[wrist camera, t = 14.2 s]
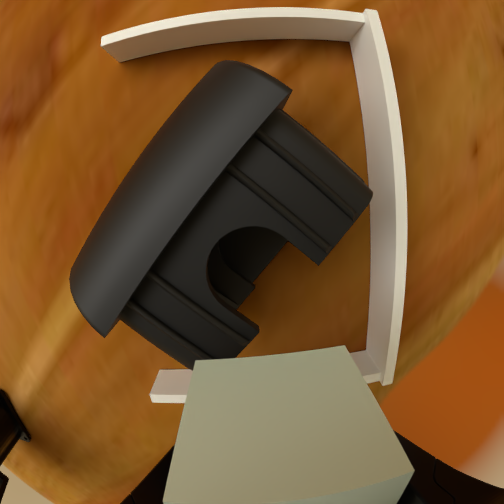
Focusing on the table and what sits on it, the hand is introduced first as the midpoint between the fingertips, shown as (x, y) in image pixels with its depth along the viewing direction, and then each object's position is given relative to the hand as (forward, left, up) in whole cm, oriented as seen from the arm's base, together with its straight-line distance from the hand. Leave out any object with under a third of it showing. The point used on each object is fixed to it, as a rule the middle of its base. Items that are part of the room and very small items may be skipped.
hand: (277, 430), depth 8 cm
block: (0, 0, -1) cm, 1 cm away
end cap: (+6, +2, -9) cm, 11 cm away
